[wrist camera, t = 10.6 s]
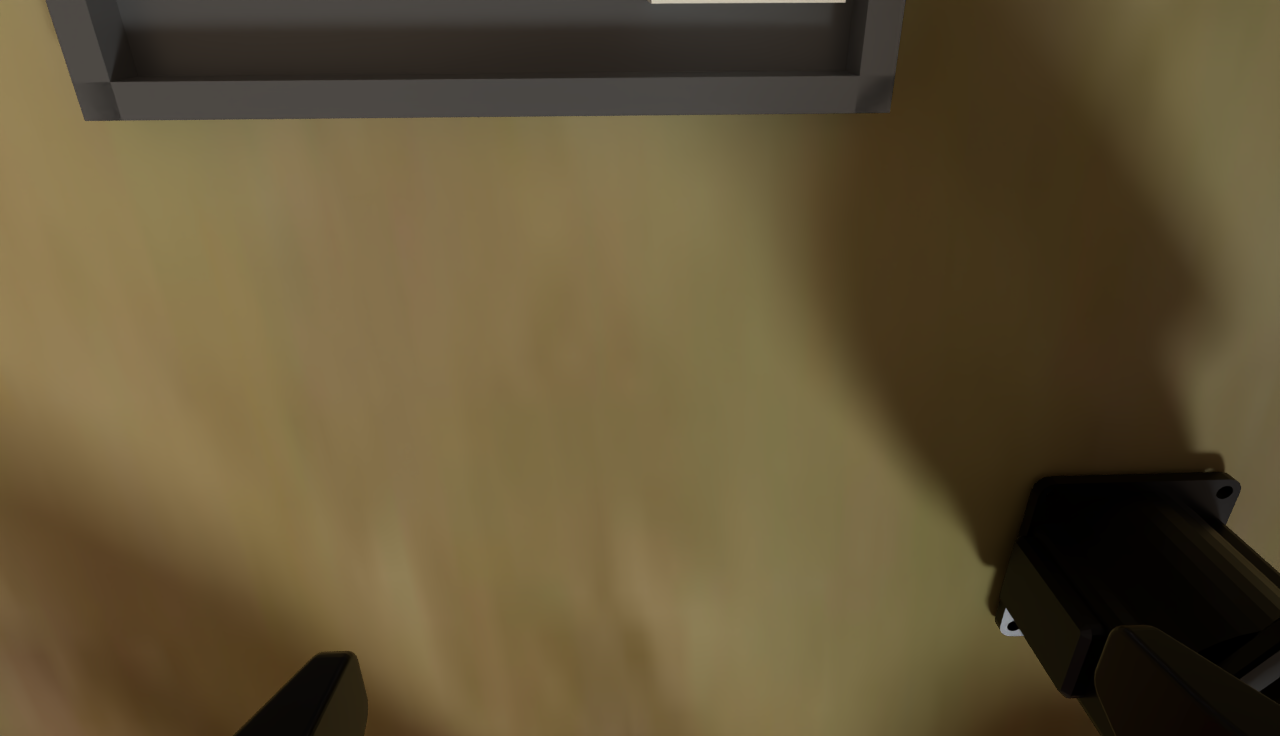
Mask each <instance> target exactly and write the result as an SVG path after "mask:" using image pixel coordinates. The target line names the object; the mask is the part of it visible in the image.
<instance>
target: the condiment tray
mask: <svg viewBox="0 0 1280 736" xmlns="http://www.w3.org/2000/svg"><path fill="white" fill-rule="evenodd" d="M905 1H906V0H46V3H47V6H48V9H49V12H50V15H51V18H52V22H53V25H54V28H55V31H56V34H57V37H58V40H59V43H60V46H61V49H62V52H63V55H64V58H65V61H66V64H67V67H68V71H69V74H70V77H71V80H72V83H73V86H74V89H75V92H76V95H77V98H78V101H79V104H80V107H81V110H82V113H83V116H84V120H85V121H113V120H215V119H316V118H418V117H520V116H621V115H723V114H825V113H890V107H891V100H892V93H893V86H894V79H895V72H896V65H897V58H898V51H899V44H900V37H901V29H902V22H903V15H904V8H905Z"/></svg>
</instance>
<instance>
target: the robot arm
mask: <svg viewBox="0 0 1280 736" xmlns="http://www.w3.org/2000/svg"><path fill="white" fill-rule="evenodd" d="M1240 490H1241V486H1240V483H1239V482H1238V481H1236V480H1235V479H1234V478H1233V477H1231V476H1230V475H1229V474H1227V473H1224V472H1205V473H1166V474H1127V475H1088V476H1051V477H1045V478H1043V479H1041V480H1039V481H1038V482H1037V483H1036V484H1035V485H1034V486H1033V488H1032V490H1031V494H1030V497H1029V501H1028V504H1027V508H1026V511H1025V515H1024V518H1023V522H1022V525H1021V529H1020V532H1019V536H1018V539H1017V540H1016V542H1015V543H1014V547H1013V550H1012V554H1011V557H1010V561H1009V564H1008V568H1007V571H1006V575H1005V578H1004V582H1003V585H1002V589H1001V592H1000V602H999V606H998V609H997V613H996V616H995V622H996V624H997V626H998V627H999V629H1000V631H1001V632H1002V634H1004V635H1006V636H1024V637H1025V639H1026V640H1027V642H1028V644H1029V645H1030V647H1031V648H1032V650H1033V652H1034V653H1035V655H1036V656H1037V658H1038V659H1039V661H1040V663H1041V664H1042V666H1043V667H1044V669H1045V671H1046V672H1047V674H1048V675H1049V677H1050V679H1051V680H1052V682H1053V683H1054V685H1055V686H1056V688H1057V690H1058V691H1059V692H1060V693H1061V694H1062V695H1063V696H1064V697H1066V698H1077V700H1078V701H1079V703H1080V704H1081V706H1082V707H1083V709H1084V710H1085V712H1086V713H1087V715H1088V716H1089V718H1090V720H1091V721H1092V723H1093V724H1094V726H1095V727H1096V729H1097V730H1098V732H1099V733H1100V735H1101V736H1280V573H1279V572H1278V571H1277V570H1276V569H1274V568H1273V567H1272V566H1271V565H1270V564H1269V563H1268V562H1266V561H1265V560H1264V559H1263V558H1262V557H1261V556H1260V555H1259V554H1257V553H1256V552H1255V551H1254V550H1253V549H1252V548H1251V547H1250V546H1248V545H1247V544H1246V543H1245V542H1244V541H1243V540H1242V539H1241V538H1239V537H1238V536H1237V535H1236V534H1235V533H1234V532H1233V531H1232V530H1230V529H1229V528H1228V527H1227V526H1226V523H1227V521H1228V518H1229V516H1230V514H1231V512H1232V509H1233V507H1234V505H1235V502H1236V500H1237V498H1238V496H1239V493H1240ZM1051 491H1054V492H1053V493H1052V494H1050V495H1047V494H1048V493H1050V492H1051ZM367 715H368V699H367V695H366V690H365V686H364V682H363V678H362V674H361V670H360V666H359V662H358V659H357V656H356V655H355V654H354V653H353V652H350V651H334V652H321V653H318V654H317V655H315V656H314V657H312V658H311V659H310V660H309V661H308V662H307V663H306V664H305V665H304V666H303V667H302V668H301V669H300V670H299V671H298V672H297V673H296V674H295V675H294V676H293V677H292V678H291V679H290V680H289V681H288V682H287V683H286V684H285V685H284V686H283V687H282V688H281V689H280V690H279V691H278V692H277V693H276V694H275V695H274V696H273V697H272V698H271V699H270V700H269V701H268V702H267V703H266V704H265V705H264V706H263V707H262V708H261V709H260V710H259V711H258V712H257V713H256V714H255V715H254V716H253V717H252V718H251V719H250V720H249V721H248V722H247V723H246V724H245V725H244V726H243V727H242V728H241V729H239V730H238V731H237V732H236V733H235V734H234V735H233V736H364V732H365V727H366V722H367Z"/></svg>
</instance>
